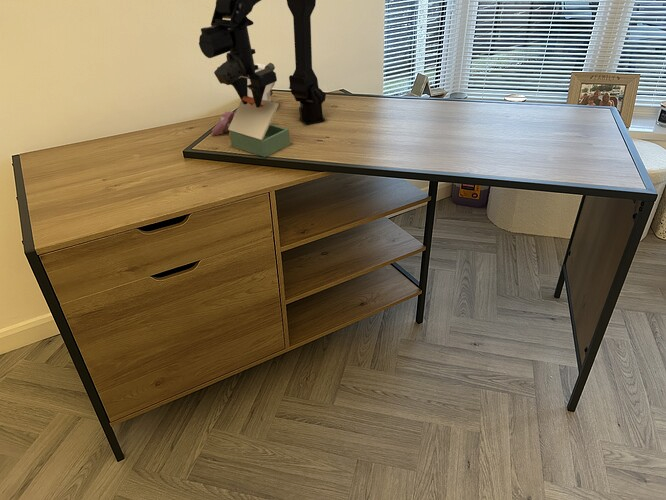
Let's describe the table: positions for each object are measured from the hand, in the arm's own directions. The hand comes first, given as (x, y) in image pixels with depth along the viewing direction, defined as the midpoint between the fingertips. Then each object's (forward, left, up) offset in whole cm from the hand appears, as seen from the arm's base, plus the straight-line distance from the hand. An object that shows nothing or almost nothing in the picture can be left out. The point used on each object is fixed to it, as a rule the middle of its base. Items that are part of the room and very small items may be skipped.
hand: (251, 105), depth 134 cm
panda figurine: (-9, -32, -12) cm, 35 cm away
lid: (0, 0, -3) cm, 3 cm away
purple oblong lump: (+6, -18, -12) cm, 23 cm away
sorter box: (-1, 0, -12) cm, 12 cm away
